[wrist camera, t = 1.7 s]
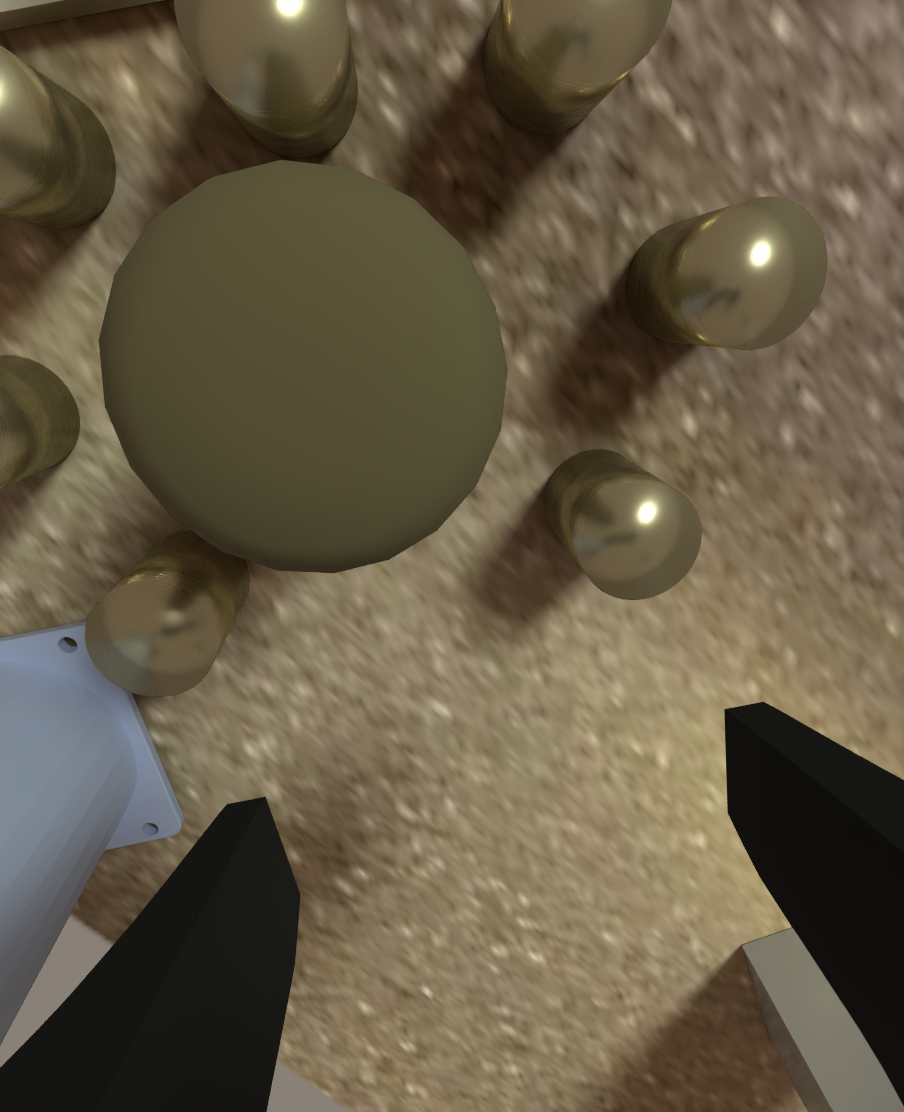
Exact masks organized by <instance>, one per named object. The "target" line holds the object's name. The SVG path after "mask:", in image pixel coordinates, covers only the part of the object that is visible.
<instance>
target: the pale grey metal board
mask: <svg viewBox="0 0 904 1112" xmlns="http://www.w3.org/2000/svg"><path fill="white" fill-rule="evenodd" d="M158 1H164V0H0V31H5V30H10V29H15V28H21V27H26V26H31V25H36V24H42V23H47V22H52V21H58V20H63V19H68V18H74V17H79V16H84V15H90V14H95V13H100V12H105V11H111V10H116V9H121V8H127V7H132V6H137V5H143V4H148V3H153V2H158Z"/></svg>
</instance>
